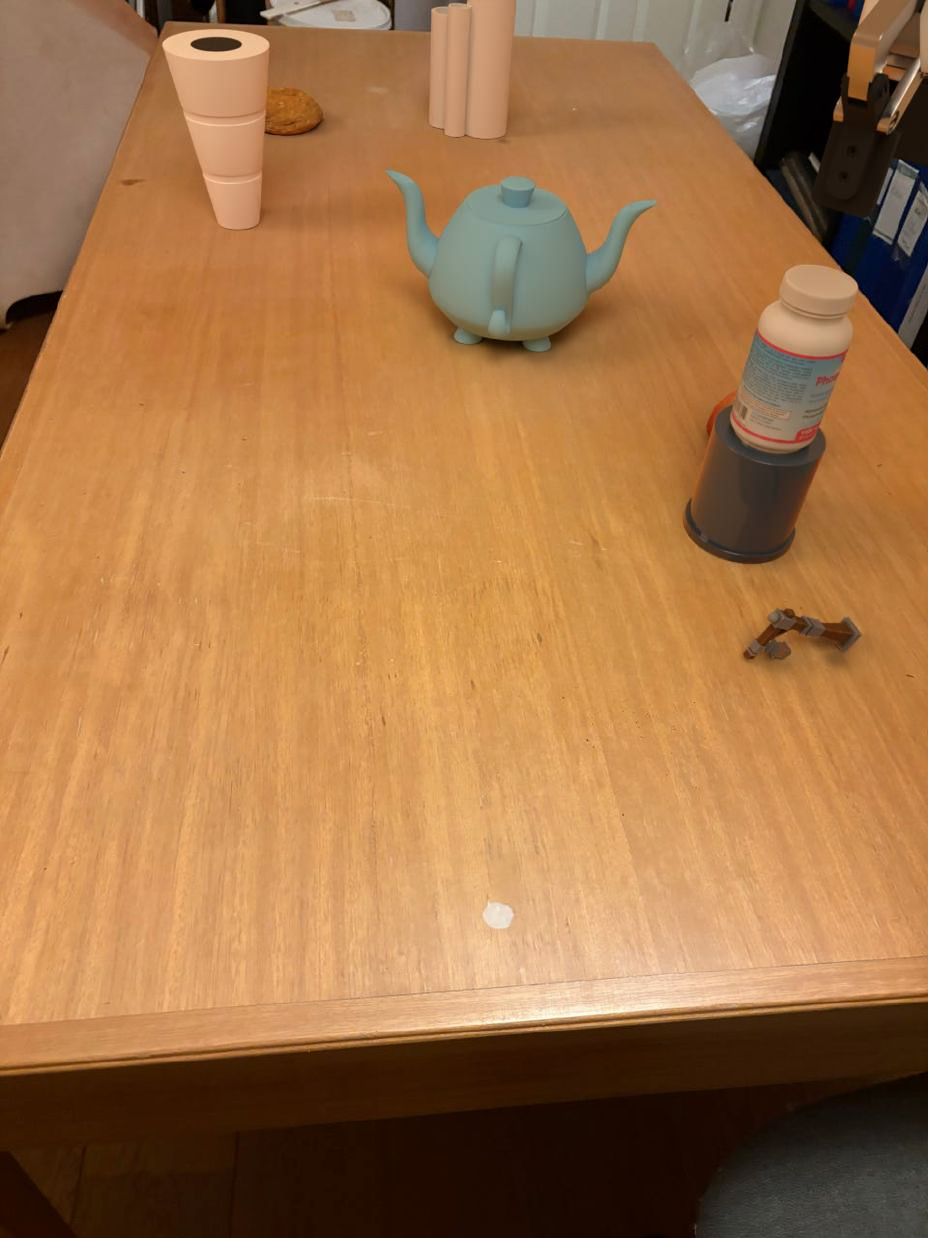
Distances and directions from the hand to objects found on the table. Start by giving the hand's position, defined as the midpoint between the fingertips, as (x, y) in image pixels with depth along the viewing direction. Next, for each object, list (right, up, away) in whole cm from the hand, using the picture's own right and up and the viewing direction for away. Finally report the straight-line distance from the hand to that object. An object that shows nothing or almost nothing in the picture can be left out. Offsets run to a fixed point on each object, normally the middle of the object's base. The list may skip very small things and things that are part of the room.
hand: (879, 184), depth 50 cm
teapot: (-18, +6, +44) cm, 48 cm away
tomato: (+3, -8, +32) cm, 33 cm away
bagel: (-47, +46, +80) cm, 104 cm away
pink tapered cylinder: (-49, +23, +58) cm, 79 cm away
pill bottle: (0, -10, +17) cm, 20 cm away
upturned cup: (-1, -16, +23) cm, 29 cm away
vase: (-22, +46, +82) cm, 97 cm away
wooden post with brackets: (+1, -26, +14) cm, 30 cm away
